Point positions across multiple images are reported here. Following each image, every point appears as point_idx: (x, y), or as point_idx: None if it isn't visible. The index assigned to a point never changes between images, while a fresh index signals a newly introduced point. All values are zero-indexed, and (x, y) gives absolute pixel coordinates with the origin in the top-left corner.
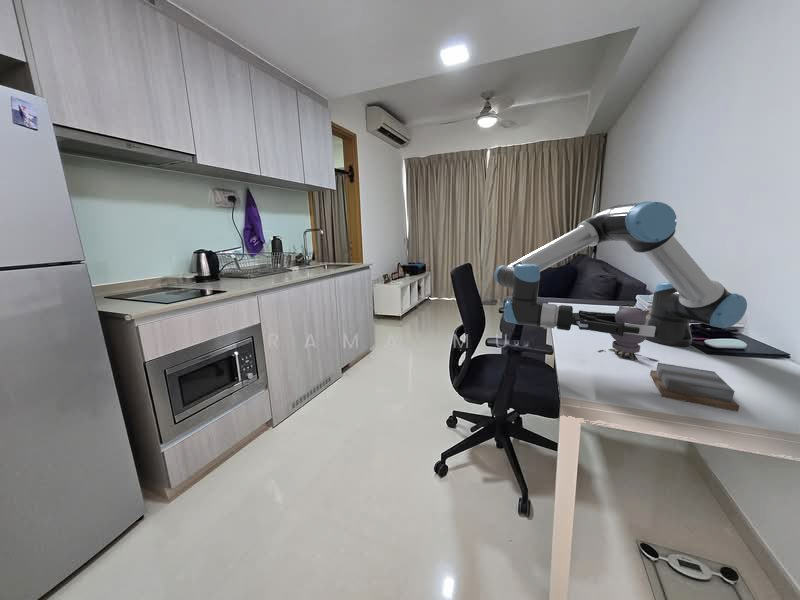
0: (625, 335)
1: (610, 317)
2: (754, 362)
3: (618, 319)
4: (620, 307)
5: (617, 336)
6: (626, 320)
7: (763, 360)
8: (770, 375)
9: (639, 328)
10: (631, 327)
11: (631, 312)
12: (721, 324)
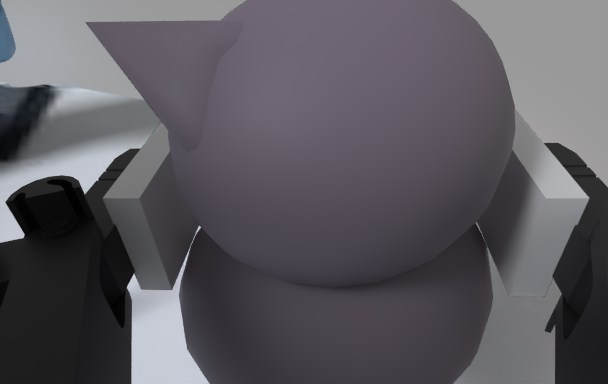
0: (492, 295)
1: (96, 322)
2: (77, 117)
3: (454, 226)
4: (155, 59)
5: (459, 375)
6: (507, 157)
7: (65, 107)
8: (155, 118)
9: (553, 144)
10: (587, 182)
11: (469, 21)
12: (13, 46)
